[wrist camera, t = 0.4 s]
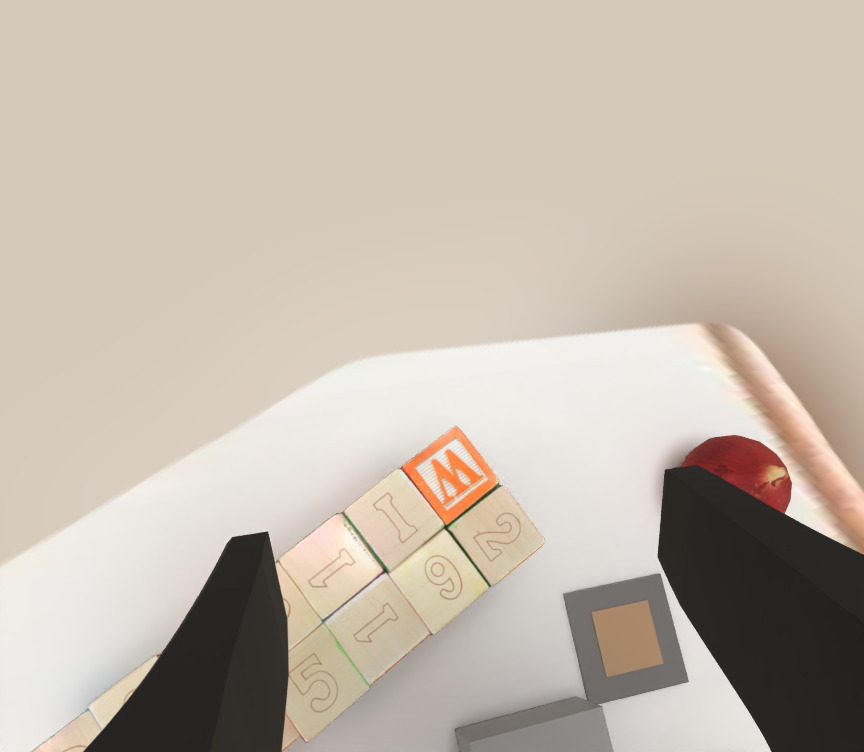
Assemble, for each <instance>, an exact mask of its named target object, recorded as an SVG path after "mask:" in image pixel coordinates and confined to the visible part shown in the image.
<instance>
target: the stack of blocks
mask: <svg viewBox="0 0 864 752" xmlns="http://www.w3.org/2000/svg"><path fill="white" fill-rule="evenodd" d="M544 543H545V539H544V538H543V536H542V535H541V534H540V532H539V531H538V530H537V529H536V527H535V526H534V525H533V523H532V522H531V521H530V519H529V518H528V517H527V515H526V514H525V513H524V511H523V510H522V509H521V507H520V506H519V505H518V503H517V502H516V501H515V499H514V498H513V496H512V495H511V494H510V492H509V491H508V490H507V488H506V487H505V486H502V485H499V480H498V478H497V476H496V475H495V473H494V472H493V471H492V469H491V468H490V467H489V466H488V464H487V463H486V462H485V460H484V459H483V458H482V456H481V455H480V454H479V453H478V451H477V450H476V449H475V447H474V446H473V445H472V444H471V442H470V441H469V440H468V438H467V437H466V436H465V435H464V433H463V432H462V431H461V430H460V429H459V428H458V427H457V426H454V427H453V428H451V429H450V430H449V431H447V432H446V433H445V434H443V435H442V436H441V437H440V438H438V439H437V440H436V441H434V442H433V443H432V444H430V445H429V446H428V447H427V448H425V449H424V450H423V451H421V452H420V453H419V454H417V455H416V456H415V457H413V458H412V459H411V460H409V461H408V462H406V463H405V464H404V465H403V466H402V467H401V468H397V469H396V470H394V471H393V472H392V473H391V474H389V475H388V476H387V477H385V478H384V479H383V480H382V481H380V482H379V483H378V484H377V485H375V486H374V487H373V488H371V489H370V490H369V491H368V492H366V493H365V494H364V495H363V496H361V497H360V498H359V499H358V500H356V501H355V502H354V503H353V504H351V505H350V506H349V507H347V508H346V509H345V510H344V511H343V512H342V513H337V514H335V515H333V516H332V517H331V518H329V519H328V520H327V521H325V522H324V523H323V524H322V525H320V526H319V527H318V528H317V529H316V530H314V531H313V532H312V533H310V534H309V535H308V536H306V537H305V538H304V539H303V540H301V541H300V542H299V543H297V544H296V545H295V546H294V547H292V548H291V549H290V550H288V551H287V552H286V553H285V554H284V555H283V556H281V557H280V558H279V559H278V560H277V561H276V562H275V565H276V570H277V574H278V579H279V583H280V588H281V592H282V597H283V601H284V606H285V610H286V615H287V619H288V657H289V678H288V690H287V701H286V712H285V723H284V733H283V744H282V751H283V750H284V749H285V748H287V747H288V746H289V745H290V744H291V743H292V742H293V741H295V740H296V739H297V738H298V737H299V736H301V738H302V739H303V740H304V741H305V742H306V743H308V742H309V741H311V740H312V739H313V738H314V737H315V736H316V735H318V734H319V733H320V732H321V731H322V730H323V729H325V728H326V727H327V726H328V725H329V724H330V723H331V722H333V721H334V720H335V719H336V718H337V717H338V716H339V715H341V714H342V713H343V712H344V711H345V710H346V709H347V708H348V707H350V706H351V705H352V704H353V703H354V702H355V701H357V700H358V699H359V698H360V697H361V696H362V695H364V694H365V693H366V692H367V691H368V690H369V688H370V686H371V685H372V684H373V683H374V682H375V681H376V680H378V679H379V678H380V677H381V676H382V675H384V674H385V673H386V672H387V671H388V670H389V669H391V668H392V667H393V666H394V665H395V664H396V663H398V662H399V661H400V660H401V659H402V658H403V657H404V656H406V655H407V654H408V653H409V652H410V651H412V650H413V649H414V648H415V647H416V646H417V645H419V644H420V643H421V642H422V641H423V640H424V639H425V638H426V637H427V636H429V635H435V634H436V633H438V632H439V631H440V630H441V629H442V628H443V627H445V626H446V625H447V624H448V623H449V622H451V621H452V620H453V619H454V618H455V617H456V616H457V615H459V614H460V613H461V612H462V611H463V610H464V609H466V608H467V607H468V606H469V605H470V604H472V603H473V602H474V601H475V600H476V599H478V598H479V597H480V596H481V595H482V594H484V593H485V592H486V591H487V590H488V588H489V587H491V586H493V585H495V584H497V583H498V582H499V581H500V580H502V579H503V578H504V577H505V576H506V575H508V574H509V573H510V572H511V571H513V570H514V569H515V568H516V567H517V566H519V565H520V564H521V563H522V562H523V561H525V560H526V559H527V558H528V557H529V556H531V555H532V554H533V553H534V552H535V551H537V550H538V549H539V548H540V547H541V546H542V545H543V544H544ZM160 655H161V654H158V655H154V656H153V657H151V658H150V659H149V660H147V661H146V662H145V663H143V664H142V665H140V666H139V667H138V668H136V669H135V670H134V671H132V672H131V673H130V674H128V675H127V676H125V677H124V678H123V679H121V680H120V681H119V682H118V683H116V684H115V685H114V686H112V687H111V688H110V689H108V690H107V691H106V692H104V693H103V694H102V695H100V696H99V697H98V698H96V699H95V700H94V701H92V702H91V703H90V704H89V706H88V709H87V710H86V711H85V712H84V713H82V714H81V715H80V716H78V717H77V718H75V719H74V720H73V721H71V722H70V723H69V724H67V725H66V726H65V727H63V728H62V729H61V730H59V731H58V732H57V733H55V734H54V735H53V736H51V737H50V738H49V739H47V740H46V741H45V742H43V743H42V744H41V745H39V746H38V747H37V748H35V749H34V750H33V751H31V752H83V751H84V750H85V749H86V748H87V747H88V745H89V744H90V743H91V742H92V741H93V740H94V739H95V738H96V737H97V735H98V734H99V733H100V732H101V731H102V730H103V729H104V728H105V726H106V725H107V724H108V723H109V722H110V720H111V719H112V718H113V717H114V716H115V714H116V713H117V712H118V711H119V710H120V708H121V707H122V706H123V705H124V703H125V702H126V701H127V700H128V698H129V697H130V696H131V695H132V693H133V692H134V691H135V689H136V688H137V687H138V685H139V684H140V683H141V681H142V680H143V679H144V678H145V676H146V675H147V673H148V672H149V671H150V669H151V668H152V666H153V665H154V663H155V662H156V661H157V659H158V658H159V656H160Z"/></svg>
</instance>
